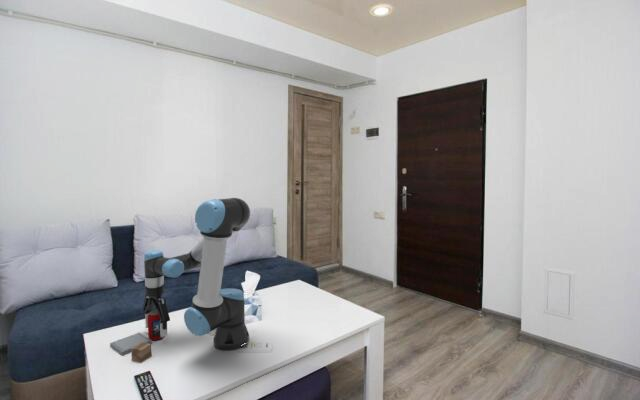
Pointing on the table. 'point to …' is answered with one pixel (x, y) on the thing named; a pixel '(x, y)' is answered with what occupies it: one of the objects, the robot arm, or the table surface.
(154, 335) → the beverage can
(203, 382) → the table surface
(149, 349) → the walnut block
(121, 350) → the coaster
